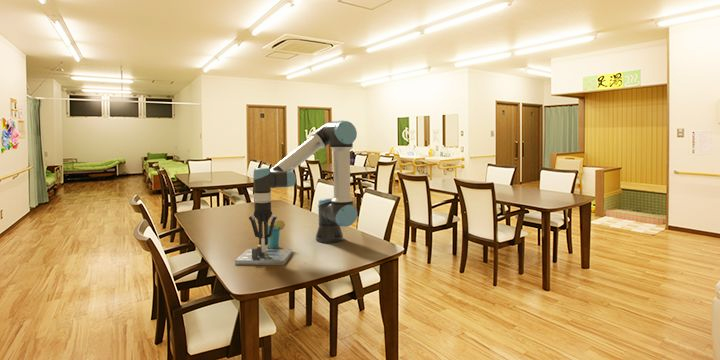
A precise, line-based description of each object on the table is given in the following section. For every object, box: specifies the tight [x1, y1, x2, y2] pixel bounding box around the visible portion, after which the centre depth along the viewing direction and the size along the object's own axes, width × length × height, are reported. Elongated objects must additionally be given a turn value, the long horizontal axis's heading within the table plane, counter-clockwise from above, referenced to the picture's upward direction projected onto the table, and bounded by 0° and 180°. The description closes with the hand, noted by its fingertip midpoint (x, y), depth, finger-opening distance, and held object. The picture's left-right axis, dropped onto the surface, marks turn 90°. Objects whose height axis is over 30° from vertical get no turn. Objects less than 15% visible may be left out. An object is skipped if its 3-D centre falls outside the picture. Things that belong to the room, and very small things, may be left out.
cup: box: [256, 219, 286, 249], centre depth 204 cm, size 14×8×15 cm, turn 112°
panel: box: [234, 243, 293, 266], centre depth 186 cm, size 22×18×6 cm
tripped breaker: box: [256, 244, 263, 254], centre depth 186 cm, size 2×2×4 cm
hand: (263, 251), depth 186 cm, fingers closed
